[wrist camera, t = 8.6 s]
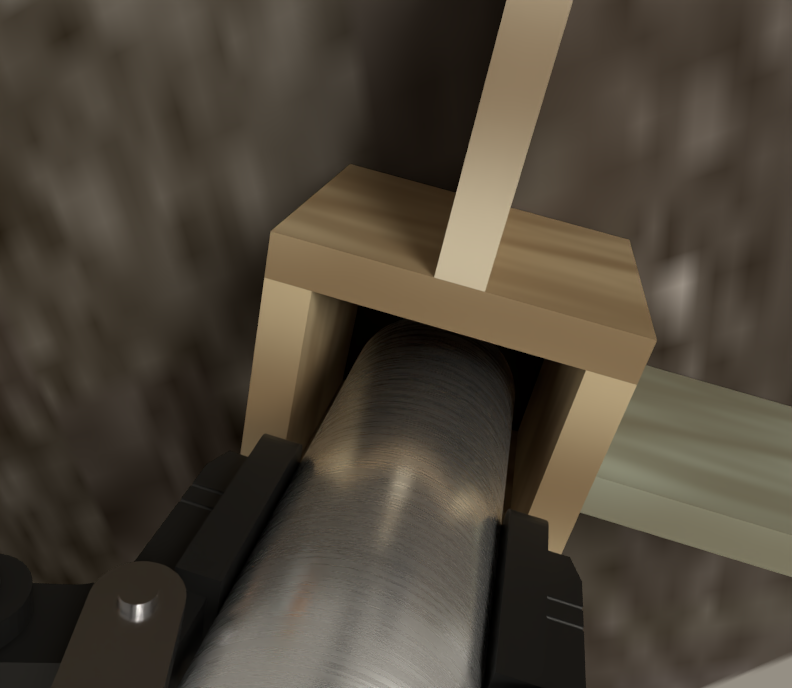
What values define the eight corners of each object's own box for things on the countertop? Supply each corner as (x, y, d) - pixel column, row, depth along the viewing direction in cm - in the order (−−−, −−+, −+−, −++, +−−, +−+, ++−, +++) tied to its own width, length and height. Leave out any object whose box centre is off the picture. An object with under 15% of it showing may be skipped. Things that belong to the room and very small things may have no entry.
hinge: (416, -200, 15) (341, -298, 10) (1177, -27, 14) (1546, -35, 9) (307, 396, 23) (231, 520, 17) (798, 544, 21) (875, 724, 16)
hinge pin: (370, 295, 17) (-35, 955, 5) (536, 343, 16) (484, 1154, 5) (341, 431, 19) (-5, 1132, 7) (489, 476, 18) (373, 1285, 7)
